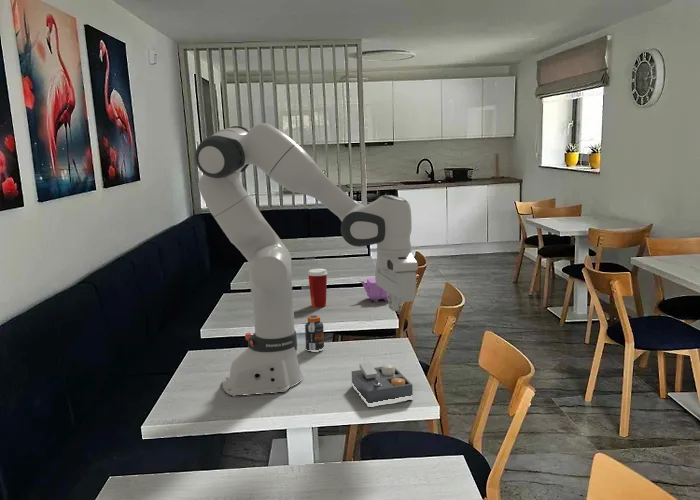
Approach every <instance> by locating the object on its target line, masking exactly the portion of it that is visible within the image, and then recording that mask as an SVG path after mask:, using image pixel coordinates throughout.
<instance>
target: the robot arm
mask: <svg viewBox="0 0 700 500" xmlns="http://www.w3.org/2000/svg"><path fill="white" fill-rule="evenodd" d="M194 158H195V164H196V166H197V168H198V170H199V171H200V172H201V173H202V175H201V176H200V178H199V180H198V182H197V187H198V190H199V192H200V195H201V197H202V199H203V201H204V203H205V205H206V207H207V208H208V210H209V212H210V213H211V215H212V217H213V218H214V219H215V221H216V223H217V224H218V225H219V227H220V229H221V230H222V232H223V233H224V234H225V236H226V238H228V240H229V241H230V243H231V244H232V245H233V246H235V248H236V249H238V251H240V253H241V254H242V256H243V257H245V259H246V260H247V262H248V264H249V266H248V272H249V274H248V275H249V283H250V292H251V299H252V305H253V321H254V333H251V332H246V333H245V335H244V337H245V340H246V341H247V342H248V345H247V346H248V347H247V348H246V349H245V350H243V352H241V353H240V354H239V355H238V356H236V357H235V358H234V359H233V360H232V362H231V365H230V369H229V374H226V376H224V378H222V379H223V380H222V384H221V386H222V385H223V386H222V390H223V389H224V390H223V392H224V391H225V392H226V393H228V394H230V395H243V394H256V393H271V392H284V391H287V390H288V389H289V388H290V387H291V386H292V385H294V384H296V383H297V382H299V381H300V380H301V378H302V376H303V374H302V371H301V369H300V364H299V360H298V355H297V354H298V353H297V350H298V336H297V331H296V329H295V314H294V313H295V311H294V297H293V284H292V283H293V282H292V256H291V253H290V251H289V250H288V248H287V247H286V245H285V244H284V242H283V241H282V240H281V238H280V237H279V235H278V234H277V233H276V232H275V230H274V229H273V228H272V226H271V225H270V224H269V223H268V221H267V220H266V219H265V217H264V216H263V214H262V212H261V211H260V210H259V208H258V207H257V205H256V204H255V202H254V200H253V199H252V198H251V196H250V194H249V193H248V191H247V190H246V189H245V187H244V186H243V184H242V182H241V178H240V174H241V173H243V172H245V171H246V169H247V168H248V167H249V165H253V166H255V167H258V168H259V169H260V170H262V171H263V172H264V173H265V174H266V176H268V177H269V178H270V179H271V180H273V181H274V182H275V183H276V184H278V185H279V186H281V187H283V188H284V189H286V190H287V191H289V192H292V193H297V194H301V195H306V196H309V197H312V198H314V199H315V200H317V201H318V202H320V203H321V204H322V205H323V206H324V207H325V208H327V209H328V210H329V211H330V212H332V213H333V214H334V215H335V216H337V217H338V218H339V220H340V221H341V225H340V234H341V236H342V238H343V239H344V241H346V243H348V245H351V246H353V247H358V248H359V247H360V248H361V247H366V246H371V245H376V263H375V281H376V285H378V286H379V287H381V288H382V289H383V290H385V291H386V292H387V298H388V308H389V309H390V310H391V311H392V312H398V311H399V309H400V308H399V307H400V303H406V302H407V303H408V302H413V301H414V299H416V298H415V297H416V289H417V287H416V286H417V274H416V272H415V271H418V270H419V269H418V268H419V264H418V262H417V260H416V258H415V257H414V255H413V252H412V243H411V234H412V227H413V226H412V225H413V224H412V222H413V221H412V209H411V206H410V203H409V201H407V200H406V199H405V198H403V197H401V196H396V195H389V194H384V195H381V196H379V198H377V199H375V200H374V201H372V202H370V203H368V204H367V203H363V202H360V201H357V200H355V199H354V198H352V196H350V195H349V194H347V193H346V192H345V191H344V190H343V189H342V188H340V187H339V186H338V185H336V183H334V182H333V181H332V180H331V179H330V178H328V177H327V175H326V174H325V172H323V171H322V169H321V168H320V167H319V166H318V165H319V164H317V163H316V161H315V160H314V159H313V158H312V157H311V156H310V154H309V153H307V151H306V150H305V149H304V148H303V147H302V146H300V144H298V143H297V142H296V141H295V140H293V139H292V137H289V135H287V134H286V133H284V132H283V131H282V130H280V129H278V128H276V127H275V126H273V125H272V124H269V123H267V122H261V123H257V124H256V125H254V126H253V127H251V128H250V129H249V128H247V127H244V126H242V125H241V126H239V125H234V126H230V127H228V128H224V129H220V130H218V131H216V132H215V133H213V134H212V135H209V136H207V137H205V138H204V139H203V140H202V141H201V142H200V143H199V144H198V146H197V148H196V150H195V154H194ZM291 388H292V387H291ZM291 388H290V389H291ZM290 389H289V390H290ZM289 390H288V391H289ZM288 391H287V392H288ZM225 392H224V393H225ZM226 393H225V394H226ZM228 394H227V395H228ZM230 395H229V396H230Z"/></svg>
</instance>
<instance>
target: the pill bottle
mask: <svg viewBox="0 0 700 500" xmlns="http://www.w3.org/2000/svg"><path fill="white" fill-rule="evenodd" d="M304 329H305V330H304V334H305V350H306V349H307V350H319V349H322V348H323V347H324V348H325V335H324V324H323V322H321V316H320V315H315V314H312V315H309V316H307V322H306V323H305V324H304ZM307 350H306V351H307Z"/></svg>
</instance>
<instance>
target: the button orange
mask: <svg viewBox="0 0 700 500" xmlns="http://www.w3.org/2000/svg"><path fill="white" fill-rule="evenodd" d="M391 384H392V385H393V386H400V385H405V380H404V379H402V378H394V379H392V380H391Z"/></svg>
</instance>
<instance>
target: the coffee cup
mask: <svg viewBox="0 0 700 500" xmlns="http://www.w3.org/2000/svg"><path fill="white" fill-rule="evenodd" d="M327 275H328V271H327V269H326V268H312V269H309V270H308V272H307V276H308V285H309V286H308V287H309V294H310V303H311V307H312V308H316V309H317V308H318V309H321V308H325V307H327V282H328V281H327V280H328V279H327V277H328V276H327Z"/></svg>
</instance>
